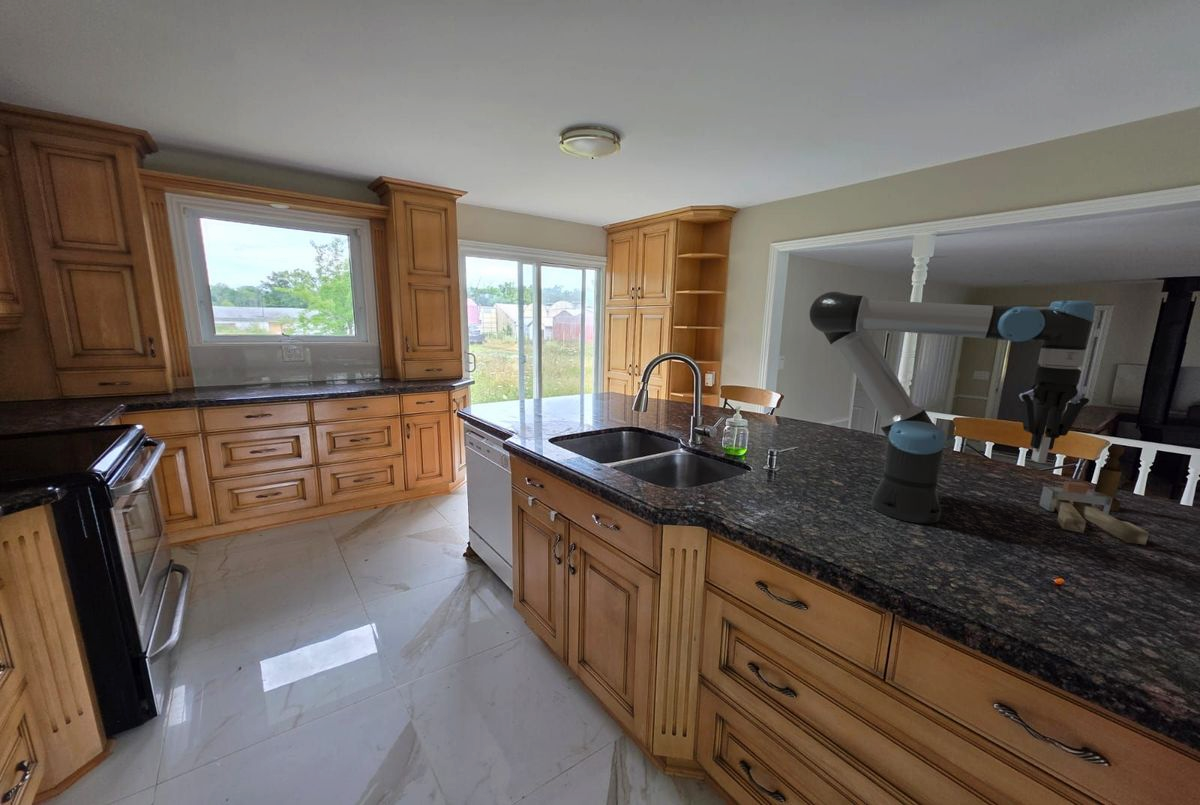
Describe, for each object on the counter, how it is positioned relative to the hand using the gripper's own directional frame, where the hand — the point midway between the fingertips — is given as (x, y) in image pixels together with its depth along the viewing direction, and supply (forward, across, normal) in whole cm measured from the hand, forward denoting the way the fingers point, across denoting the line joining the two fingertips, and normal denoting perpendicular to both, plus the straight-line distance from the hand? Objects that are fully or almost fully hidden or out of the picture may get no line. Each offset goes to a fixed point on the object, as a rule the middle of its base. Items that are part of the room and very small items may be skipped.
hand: (1038, 461), depth 110 cm
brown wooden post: (+17, +28, +22) cm, 39 cm away
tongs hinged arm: (+16, +13, +8) cm, 22 cm away
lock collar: (+16, +16, +12) cm, 26 cm away
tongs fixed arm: (+16, +18, +7) cm, 25 cm away
